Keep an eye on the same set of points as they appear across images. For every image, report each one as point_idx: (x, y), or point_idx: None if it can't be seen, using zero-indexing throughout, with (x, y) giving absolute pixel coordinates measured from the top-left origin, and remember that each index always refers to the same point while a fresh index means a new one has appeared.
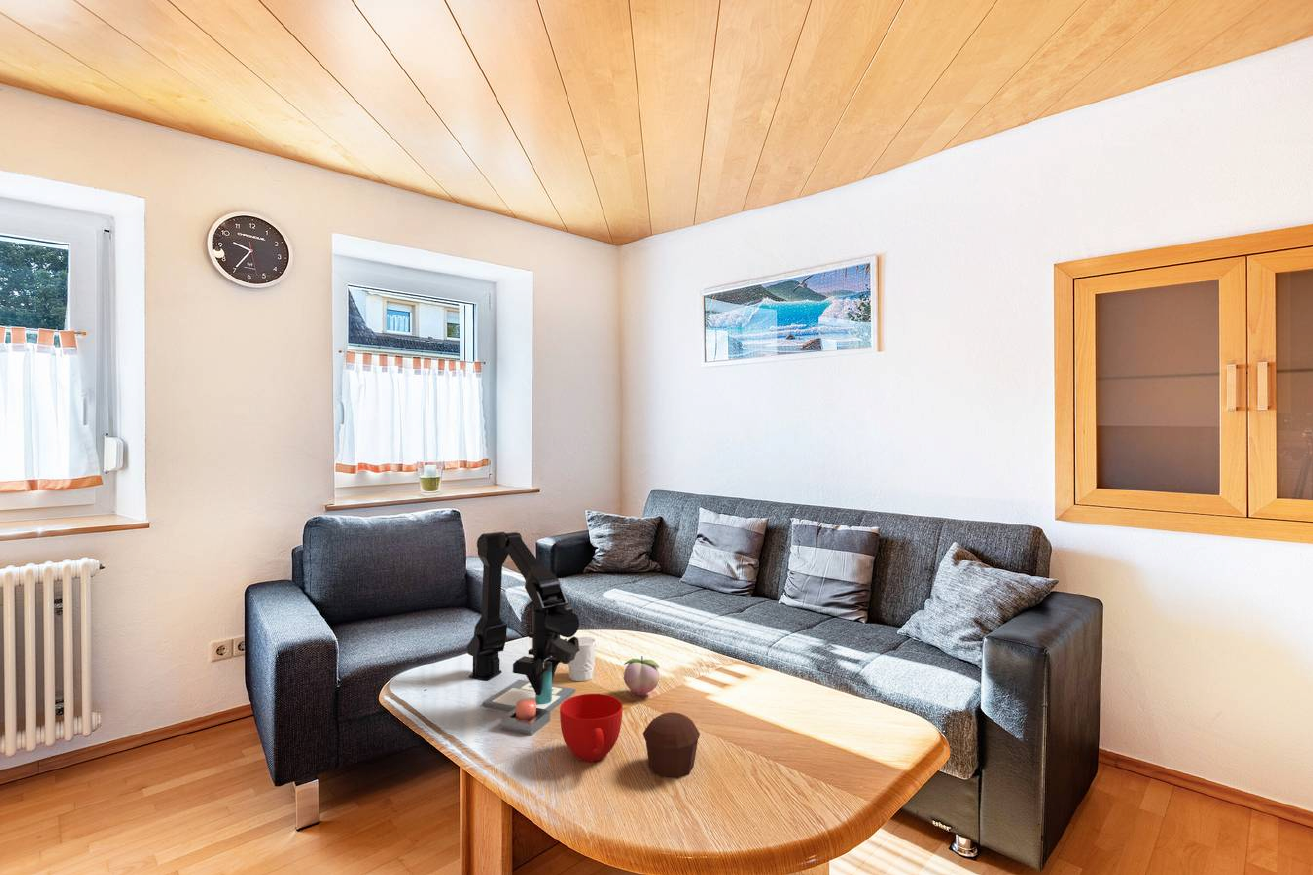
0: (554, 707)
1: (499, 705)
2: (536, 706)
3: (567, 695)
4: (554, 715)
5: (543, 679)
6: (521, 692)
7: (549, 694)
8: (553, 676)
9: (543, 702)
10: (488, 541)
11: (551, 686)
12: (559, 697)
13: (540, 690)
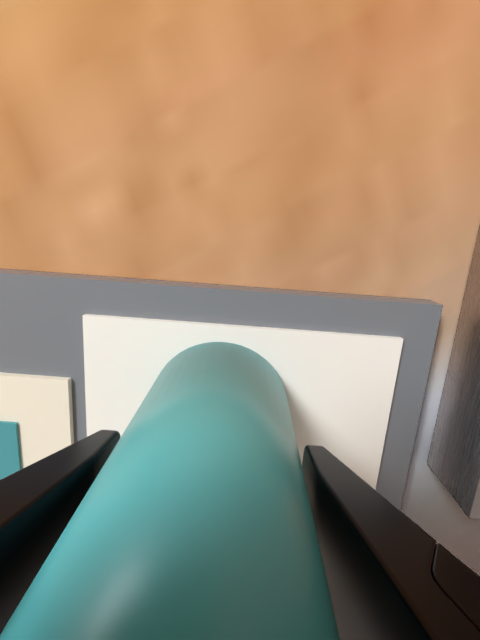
0: (250, 287)
1: None
2: (339, 409)
3: (21, 273)
4: (378, 224)
5: (322, 563)
6: None
7: (235, 372)
8: (1, 486)
9: (281, 383)
10: None
11: (182, 401)
12: (100, 315)
13: (339, 469)
